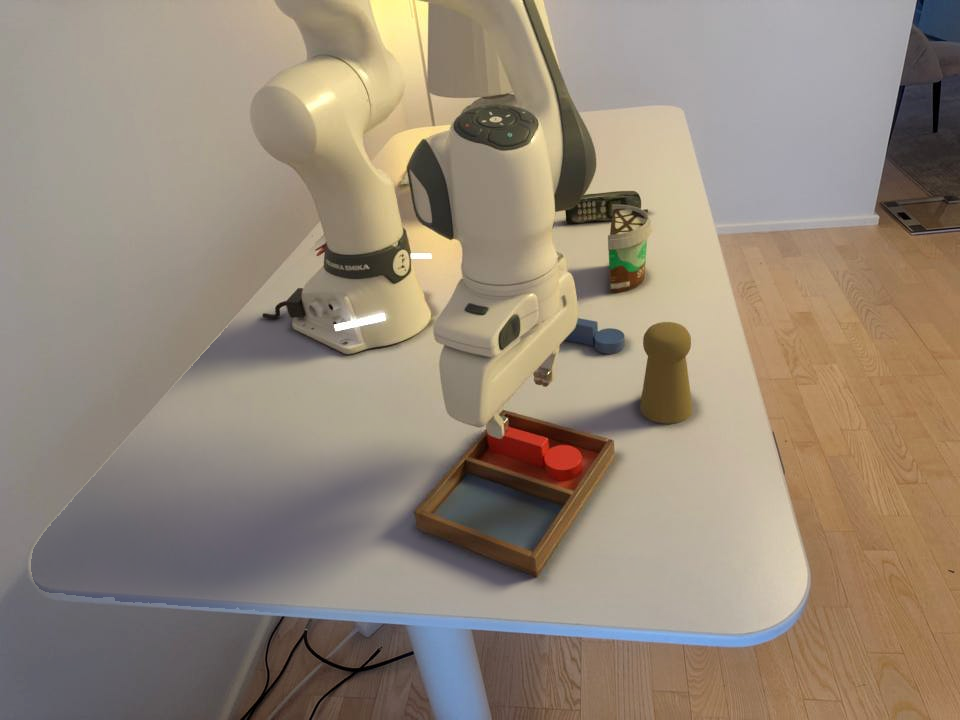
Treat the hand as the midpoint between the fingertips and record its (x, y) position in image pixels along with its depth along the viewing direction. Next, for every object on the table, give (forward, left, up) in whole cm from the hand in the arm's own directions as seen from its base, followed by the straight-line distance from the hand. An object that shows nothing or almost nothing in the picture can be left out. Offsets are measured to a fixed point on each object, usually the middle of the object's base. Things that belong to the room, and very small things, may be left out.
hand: (522, 406), depth 75 cm
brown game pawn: (+10, +16, -9) cm, 20 cm away
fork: (-74, +78, -9) cm, 108 cm away
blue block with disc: (-5, +26, -9) cm, 28 cm away
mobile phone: (-19, +65, -9) cm, 68 cm away
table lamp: (-44, +71, -9) cm, 84 cm away
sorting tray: (+1, -4, -9) cm, 9 cm away
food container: (-6, +45, -9) cm, 46 cm away
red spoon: (0, +1, -8) cm, 8 cm away
